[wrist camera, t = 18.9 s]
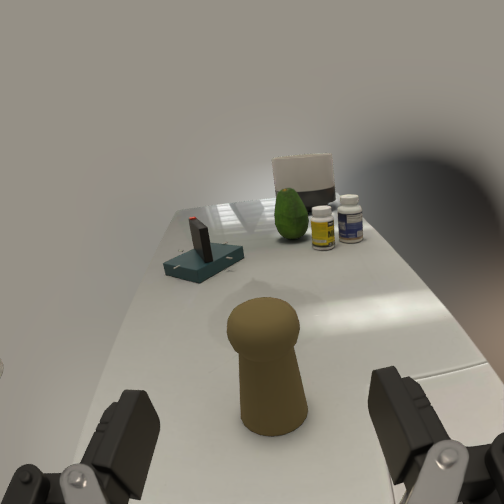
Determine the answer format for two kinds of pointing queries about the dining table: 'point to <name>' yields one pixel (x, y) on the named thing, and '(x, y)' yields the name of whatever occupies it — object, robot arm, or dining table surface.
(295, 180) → the planter
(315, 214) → the supplement bottle
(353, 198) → the pill bottle
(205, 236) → the red-tipped black panel
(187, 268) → the teal base plate
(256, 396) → the cork
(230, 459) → the dining table surface
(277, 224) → the avocado
